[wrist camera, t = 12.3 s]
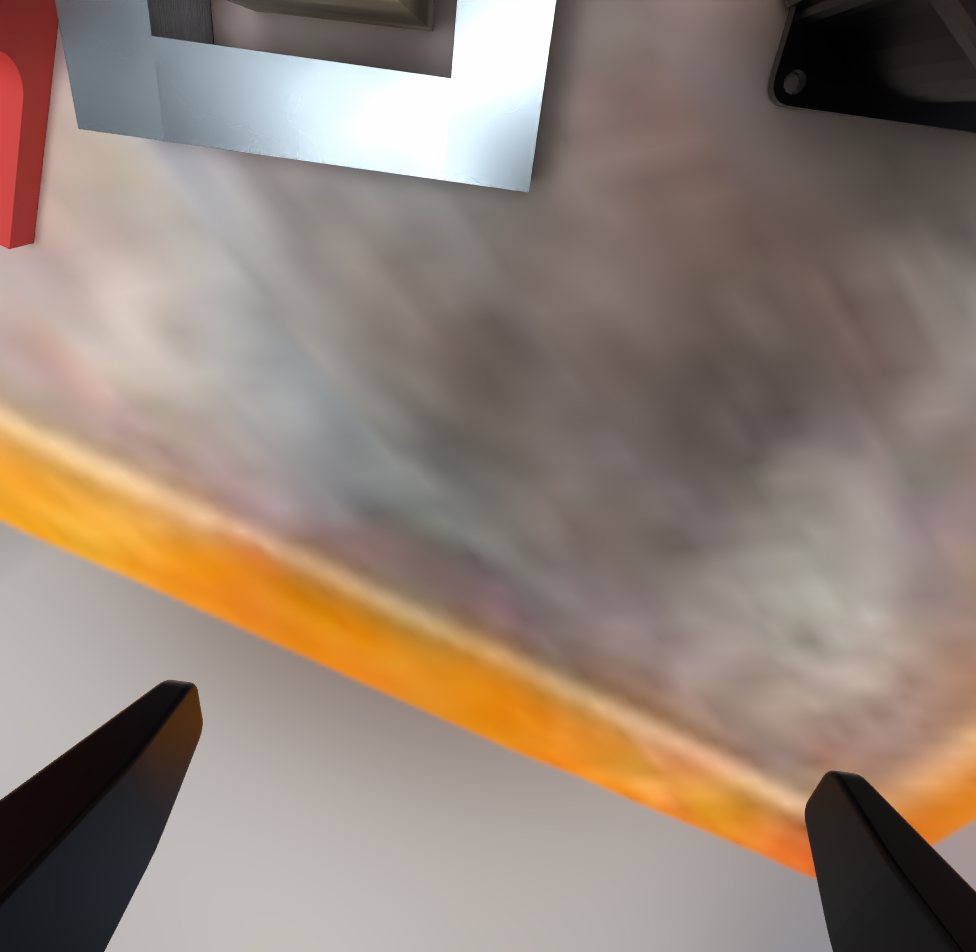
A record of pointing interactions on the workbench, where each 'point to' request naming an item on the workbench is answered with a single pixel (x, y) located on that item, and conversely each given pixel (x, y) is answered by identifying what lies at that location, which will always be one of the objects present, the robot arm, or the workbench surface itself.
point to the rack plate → (315, 91)
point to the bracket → (24, 111)
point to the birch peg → (354, 11)
